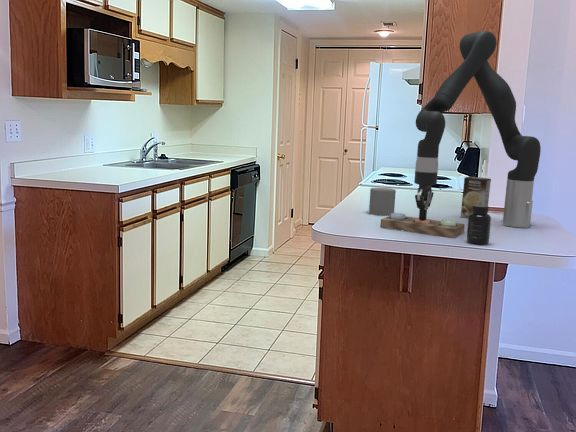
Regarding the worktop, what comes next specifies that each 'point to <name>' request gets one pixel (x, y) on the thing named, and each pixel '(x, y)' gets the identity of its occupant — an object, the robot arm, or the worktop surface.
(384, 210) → the coffee mug
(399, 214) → the slate button
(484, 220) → the supplement bottle
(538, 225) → the worktop surface
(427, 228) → the button panel
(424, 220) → the terracotta button
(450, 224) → the sage button
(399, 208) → the worktop surface
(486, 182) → the coffee box
